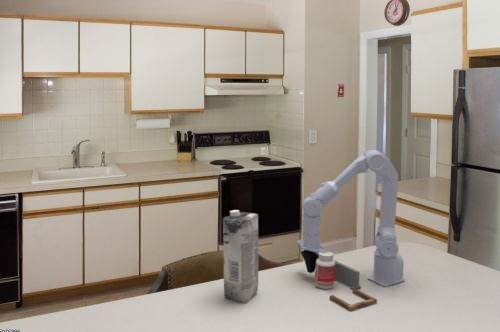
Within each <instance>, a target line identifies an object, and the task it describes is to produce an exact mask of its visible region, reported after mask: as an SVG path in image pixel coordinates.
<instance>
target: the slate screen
mask: <svg viewBox="0 0 500 332" xmlns="http://www.w3.org/2000/svg"><path fill="white" fill-rule="evenodd" d="M333 260H334V261H335V275H334V281H337V282H339V283H340V284H343V285H345V286H347V287H348V288H349V289H350V290H351V291H353V289H357V290H359V291H360V290H361V289H362V286H361V285H360V271H359V270H356V269H355V268H352V267H350V266H348V265H346V264H344V263H341V262H339V261H337V260H335V259H333Z"/></svg>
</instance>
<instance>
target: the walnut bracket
mask: <svg viewBox="0 0 500 332" xmlns="http://www.w3.org/2000/svg"><path fill="white" fill-rule="evenodd" d="M352 294H353V295H355V296H357V297H358V298H362V299H363V301H360V302H355V303H352V304H351V303H348V302H346V301H344V300H343V299H341V298H339V297H337V296H336V295H334V294H332V295H331V294H330V295H329V300H330V301H331V302H333V303H335V304H337V305H339V306H340V307H342V308H343V309H346V310H347V311H349V312H353V311H356V310H359V309H362V308H366V307H370V306H372V305H376V304H378V299H377V298H375V297H374V296H371V295H369V294H367V293H365V292H363V291H361V290H360V289H359V290H357V289H353V290H352Z"/></svg>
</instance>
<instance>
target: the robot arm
mask: <svg viewBox="0 0 500 332" xmlns="http://www.w3.org/2000/svg"><path fill="white" fill-rule="evenodd" d="M369 170H370V171H371V172H373V173H375V174H377V175H378V176H379V177H380V178H381V192H380V193H381V195H380V206H379V207H380V209H379V220H378V221H379V223H378V227H377V231H376V234H375V236H374V239H373V243H374V246H375V248H376V249H375V251H374V255H373V275H371V276H368V277H367V280H369V281H372V282H374V283H376V284H378V285H380V286H382V287H388V286H393V285H395V284H398V283H404V282H405V278H404V264H405V263H404V258H403V256H402V255H401V254H400V253H398V252H399V249H400V248H399V245H398V242H397V233H396V217H397V216H396V214H397V199H398V188H399V187H398V186H399V173H398V171H397V169H396V168H395V166H394V165H393V163H392V161H391V159H390V158H389V157H387V156H386V155H385V154H384V153H382V152H381V151H379V150H378V149H374V148H369V149H368V150H366V151H365V152H363V154H361V155H359V156H358V157H357V158H356V159H355V160H353V162H352V163H351V164H350V165H348V166H347V167H346V168H345V169H344V170H343V171H342V172H341V173H340V174H339V175H338V176H337V177H336V178H335V179H333V180H331V181H329V180H328V181H326V182H323V181H322V183H320V187H319V188H318V189H317V190H315V191H314V192H311V193H310V195H309V196H308V197H306V198H305V199H304V200H303V202H302V208H303V214H302V215H303V220H302V239H298V240H296V241H295V243H296V245H295V246H296V247H299V249H300V250H301V251H300V254H301V256H302V257H303V259H304V263H305V267H306V271H307V273H309V274H312V273H315V270H316V260H317V259H318V258H319V252H320V253H327V252H328V251H329V250H326V249H324V247H323V246H321V217H320V216H321V213H322V210H323V208H325V207H326V206H327V205H329V204H330V203H331V202H332V201H333V200H335V198H337V197H338V196H339V195H340V189H341V188H342V187H344V185H346V184H348V183H349V182H350V181H351V180H352V179H353V178H355V177H356V176H357V175H359V174H366V173H367V174H368V173H369Z"/></svg>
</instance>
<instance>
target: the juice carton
mask: <svg viewBox="0 0 500 332" xmlns="http://www.w3.org/2000/svg"><path fill="white" fill-rule="evenodd" d="M222 239H223V241H222V243H223V244H222V245H223V246H222V249H223V290H224V298H225V299H226V300H229V301H235V302H239V303H244V304H245V303H247V302H248V301H249V300H250V299H251V298H253V297H254V296H255V295H256V294H257V292H258V290H259V214H258V213H255V212H254V213H252V212H244V211H240V210H239V209H233V210H229V215H228V216H224V217H223V218H222Z"/></svg>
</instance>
